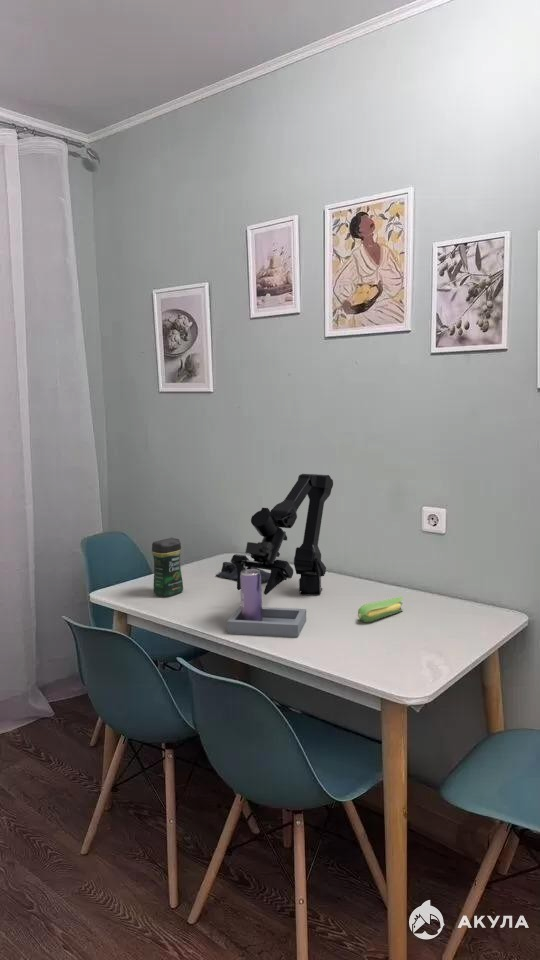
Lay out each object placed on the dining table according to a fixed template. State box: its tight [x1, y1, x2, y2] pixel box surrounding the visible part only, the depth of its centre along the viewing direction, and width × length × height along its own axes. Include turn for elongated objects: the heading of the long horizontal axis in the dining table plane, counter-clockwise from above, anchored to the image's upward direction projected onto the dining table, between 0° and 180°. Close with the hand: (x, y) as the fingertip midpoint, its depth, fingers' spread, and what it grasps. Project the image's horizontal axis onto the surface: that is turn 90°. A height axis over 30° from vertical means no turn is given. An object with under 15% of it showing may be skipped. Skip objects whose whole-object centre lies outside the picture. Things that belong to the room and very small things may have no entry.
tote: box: [226, 605, 307, 638], centre depth 199 cm, size 20×13×4 cm, turn 77°
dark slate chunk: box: [215, 561, 271, 584], centre depth 248 cm, size 15×22×5 cm
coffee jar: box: [151, 537, 184, 598], centre depth 231 cm, size 10×8×19 cm
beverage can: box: [240, 569, 263, 621], centre depth 199 cm, size 6×6×15 cm
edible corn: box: [357, 596, 405, 623], centre depth 205 cm, size 5×20×5 cm
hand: (251, 591), depth 198 cm, fingers open, 9 cm apart
